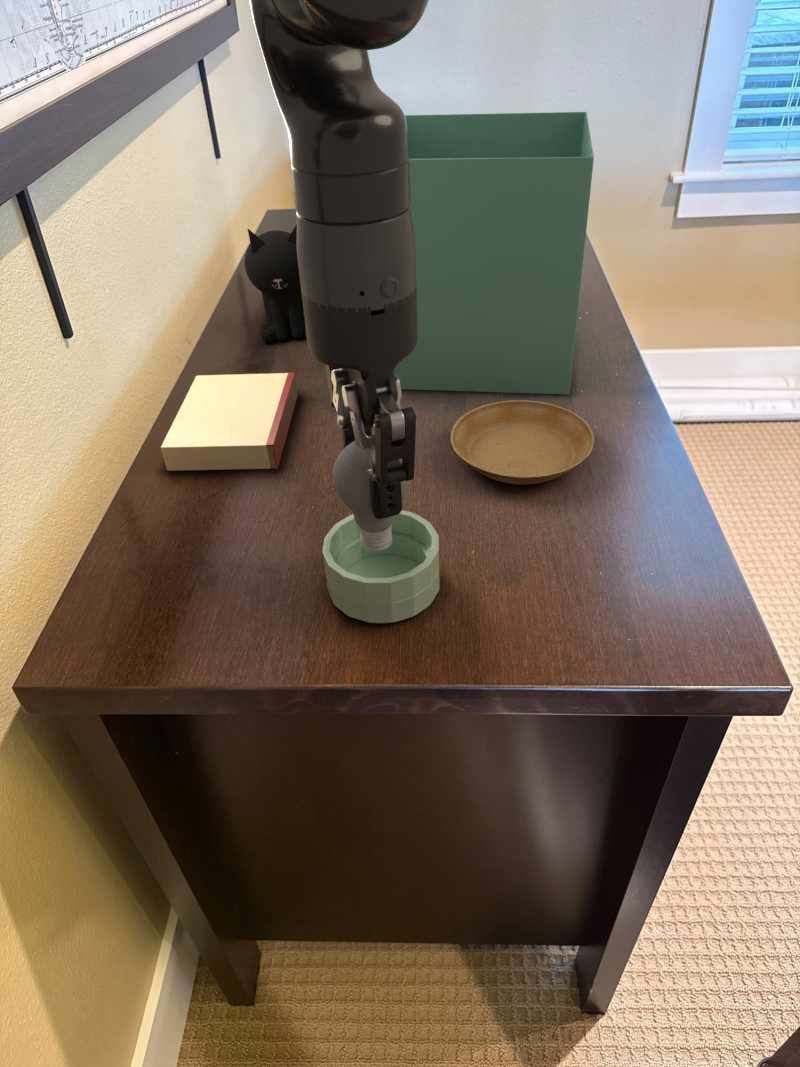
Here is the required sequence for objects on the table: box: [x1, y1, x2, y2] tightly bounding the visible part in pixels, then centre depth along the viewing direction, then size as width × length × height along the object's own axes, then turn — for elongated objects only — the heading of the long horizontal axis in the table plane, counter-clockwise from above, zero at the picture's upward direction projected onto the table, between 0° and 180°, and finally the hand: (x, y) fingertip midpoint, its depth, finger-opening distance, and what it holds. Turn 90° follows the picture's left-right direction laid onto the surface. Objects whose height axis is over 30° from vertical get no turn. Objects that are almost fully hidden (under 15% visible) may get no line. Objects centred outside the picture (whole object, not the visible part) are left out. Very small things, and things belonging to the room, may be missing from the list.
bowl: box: [321, 509, 441, 624], centre depth 66 cm, size 10×10×5 cm
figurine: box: [244, 224, 307, 343], centre depth 104 cm, size 16×14×15 cm
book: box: [160, 371, 299, 472], centre depth 88 cm, size 16×12×3 cm
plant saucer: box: [450, 399, 595, 486], centre depth 81 cm, size 15×15×3 cm
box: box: [393, 111, 595, 396], centre depth 93 cm, size 23×21×26 cm
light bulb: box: [332, 441, 411, 551], centre depth 61 cm, size 6×6×10 cm
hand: (373, 490), depth 61 cm, fingers closed on light bulb, 6 cm apart
